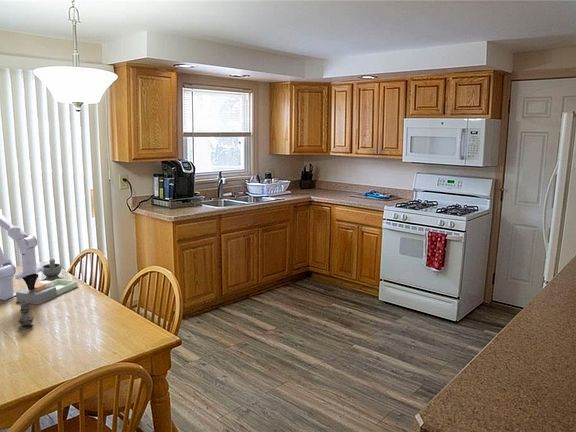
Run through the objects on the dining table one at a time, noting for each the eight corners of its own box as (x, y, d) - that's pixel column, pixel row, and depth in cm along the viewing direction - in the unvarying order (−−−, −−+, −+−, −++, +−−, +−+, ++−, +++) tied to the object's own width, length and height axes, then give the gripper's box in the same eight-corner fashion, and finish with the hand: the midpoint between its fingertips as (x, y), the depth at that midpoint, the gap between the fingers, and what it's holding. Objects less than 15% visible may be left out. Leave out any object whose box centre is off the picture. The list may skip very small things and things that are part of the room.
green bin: (37, 292, 235) (37, 287, 234) (58, 284, 248) (58, 278, 248) (57, 295, 232) (56, 289, 231) (77, 286, 245) (77, 281, 244)
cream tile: (37, 286, 230) (37, 282, 230) (45, 284, 235) (45, 280, 234) (45, 287, 228) (45, 283, 228) (53, 285, 233) (53, 281, 233)
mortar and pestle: (41, 277, 259) (39, 255, 257) (60, 274, 264) (58, 253, 262) (44, 282, 250) (42, 260, 248) (63, 280, 255) (62, 258, 253)
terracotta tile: (28, 290, 225) (28, 286, 225) (37, 287, 230) (36, 283, 230) (37, 291, 224) (36, 287, 223) (45, 288, 228) (45, 284, 228)
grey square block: (16, 301, 223) (15, 292, 222) (36, 293, 235) (36, 284, 234) (37, 304, 220) (36, 295, 219) (56, 296, 231) (55, 287, 230)
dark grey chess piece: (27, 330, 192) (24, 302, 190) (14, 328, 194) (12, 301, 191) (37, 324, 198) (35, 297, 196) (25, 323, 199) (22, 296, 197)
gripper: (23, 267, 213) (25, 295, 216) (47, 258, 227) (49, 285, 229) (10, 265, 215) (13, 293, 218) (36, 257, 229) (38, 284, 231)
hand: (31, 289), depth 223 cm, fingers closed
